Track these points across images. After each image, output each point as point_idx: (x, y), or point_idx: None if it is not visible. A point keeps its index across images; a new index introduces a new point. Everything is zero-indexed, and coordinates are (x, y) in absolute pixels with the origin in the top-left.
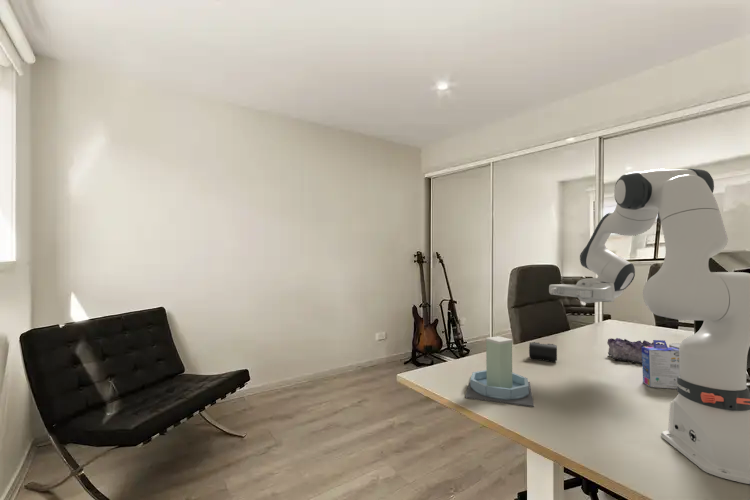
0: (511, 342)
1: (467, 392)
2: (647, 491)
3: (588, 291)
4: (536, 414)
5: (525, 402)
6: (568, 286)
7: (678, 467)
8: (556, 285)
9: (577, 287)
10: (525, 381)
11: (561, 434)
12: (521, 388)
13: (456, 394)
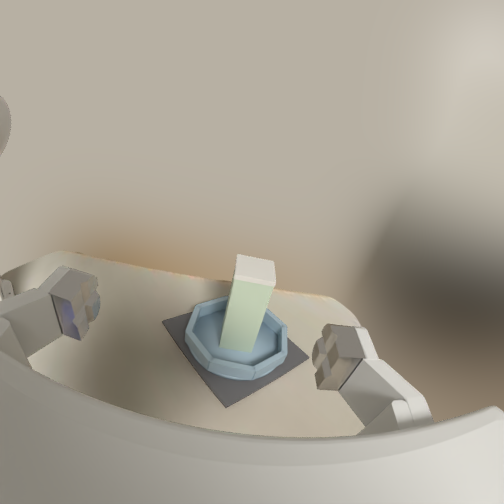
0: (234, 278)
1: None
2: (56, 252)
3: (3, 305)
4: (150, 307)
5: (176, 323)
6: (292, 441)
7: (26, 282)
8: (457, 420)
9: (108, 404)
10: (200, 345)
11: (113, 283)
12: (189, 320)
13: None
